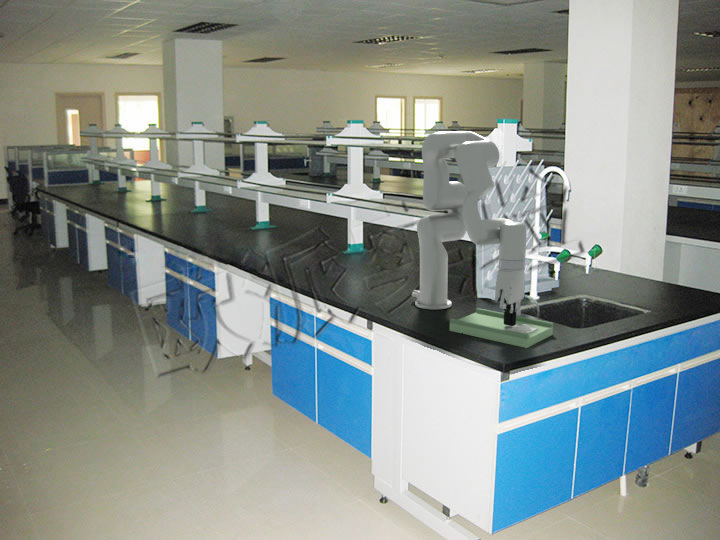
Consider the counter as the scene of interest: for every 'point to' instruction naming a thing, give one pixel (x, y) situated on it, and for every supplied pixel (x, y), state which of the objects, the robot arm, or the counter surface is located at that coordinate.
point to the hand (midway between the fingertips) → (509, 324)
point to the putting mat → (502, 328)
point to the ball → (524, 328)
